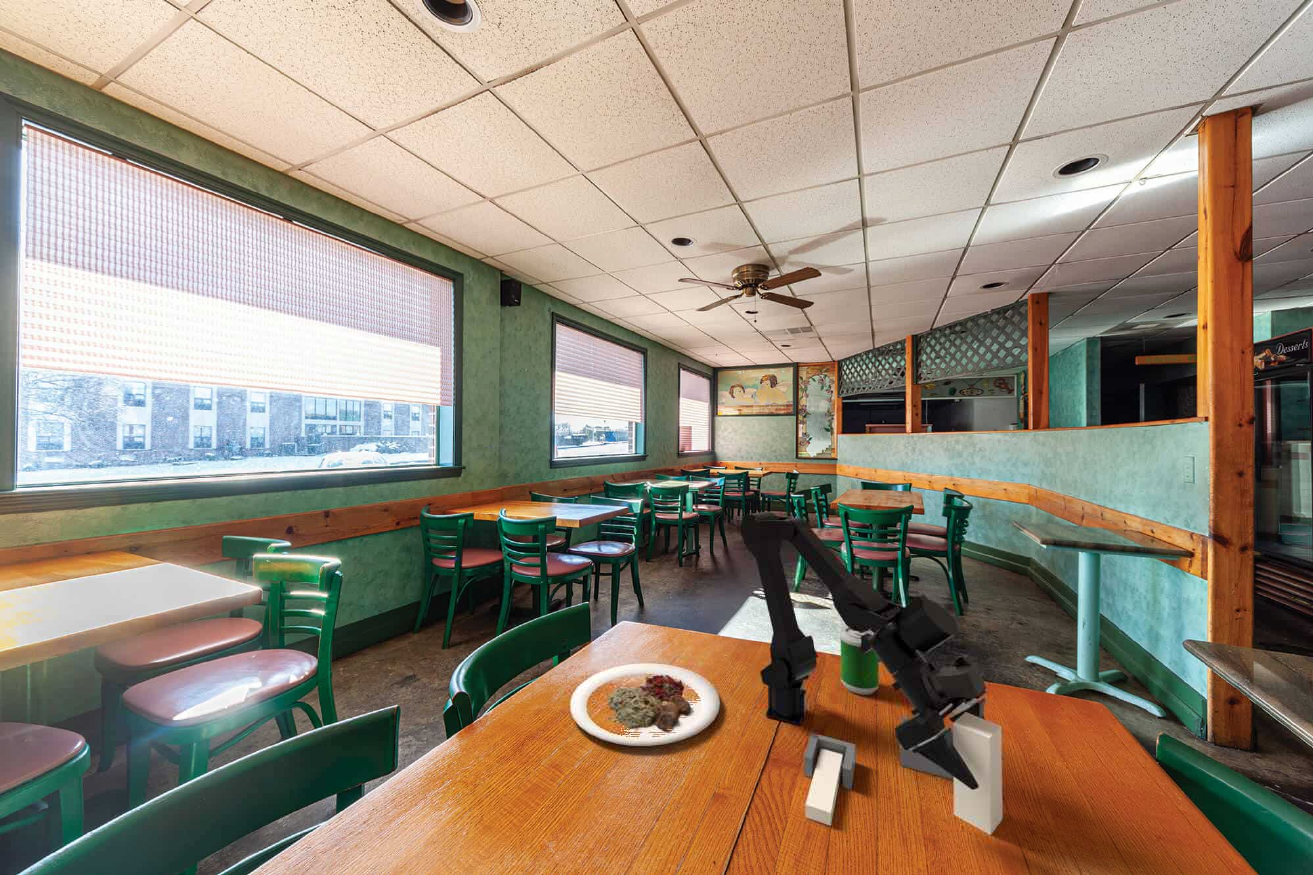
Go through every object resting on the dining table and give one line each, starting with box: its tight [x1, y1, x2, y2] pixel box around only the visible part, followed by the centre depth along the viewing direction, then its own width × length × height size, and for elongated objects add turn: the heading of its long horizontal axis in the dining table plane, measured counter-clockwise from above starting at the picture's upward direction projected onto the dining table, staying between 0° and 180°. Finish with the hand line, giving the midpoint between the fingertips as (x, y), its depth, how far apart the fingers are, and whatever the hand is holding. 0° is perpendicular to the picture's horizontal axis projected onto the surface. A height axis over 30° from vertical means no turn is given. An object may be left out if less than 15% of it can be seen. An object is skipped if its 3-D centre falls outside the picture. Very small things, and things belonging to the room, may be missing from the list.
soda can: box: [840, 626, 880, 696], centre depth 104 cm, size 8×8×12 cm
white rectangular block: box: [952, 712, 1003, 836], centre depth 68 cm, size 4×4×13 cm
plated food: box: [569, 662, 721, 747], centre depth 98 cm, size 30×30×3 cm
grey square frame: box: [899, 716, 954, 781], centre depth 81 cm, size 10×10×3 cm
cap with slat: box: [803, 732, 856, 827], centre depth 74 cm, size 7×16×3 cm, turn 153°
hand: (988, 774), depth 67 cm, fingers open, 9 cm apart
